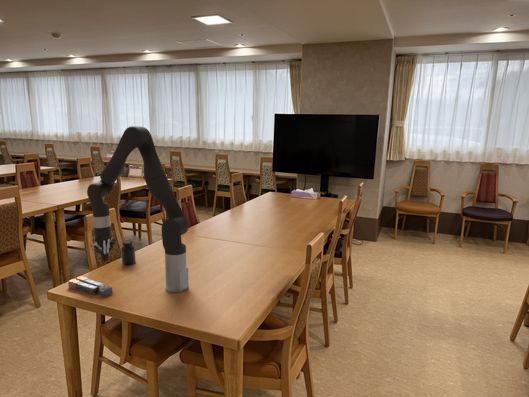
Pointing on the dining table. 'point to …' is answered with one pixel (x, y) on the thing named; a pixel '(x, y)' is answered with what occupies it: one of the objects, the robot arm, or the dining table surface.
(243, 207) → the dining table surface
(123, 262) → the supplement bottle
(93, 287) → the tongs fixed
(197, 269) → the dining table surface
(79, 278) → the tong arm
